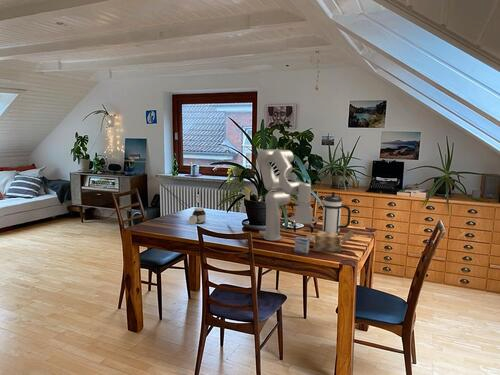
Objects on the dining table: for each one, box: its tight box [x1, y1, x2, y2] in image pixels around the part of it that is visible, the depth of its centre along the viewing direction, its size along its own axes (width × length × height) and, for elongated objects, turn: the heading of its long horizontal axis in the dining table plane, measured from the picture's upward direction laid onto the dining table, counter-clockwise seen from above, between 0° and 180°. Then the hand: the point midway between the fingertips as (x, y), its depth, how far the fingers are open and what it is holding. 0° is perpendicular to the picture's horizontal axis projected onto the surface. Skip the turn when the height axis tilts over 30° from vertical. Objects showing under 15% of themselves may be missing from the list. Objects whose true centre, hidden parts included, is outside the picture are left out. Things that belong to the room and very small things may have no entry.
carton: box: [305, 230, 343, 254], centre depth 222 cm, size 21×24×7 cm
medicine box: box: [293, 236, 310, 255], centre depth 212 cm, size 8×4×9 cm, turn 66°
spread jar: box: [188, 206, 207, 226], centre depth 270 cm, size 12×11×12 cm
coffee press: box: [321, 191, 351, 237], centre depth 251 cm, size 17×16×30 cm
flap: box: [341, 228, 354, 244], centre depth 218 cm, size 1×12×8 cm
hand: (303, 232), depth 211 cm, fingers open, 9 cm apart
